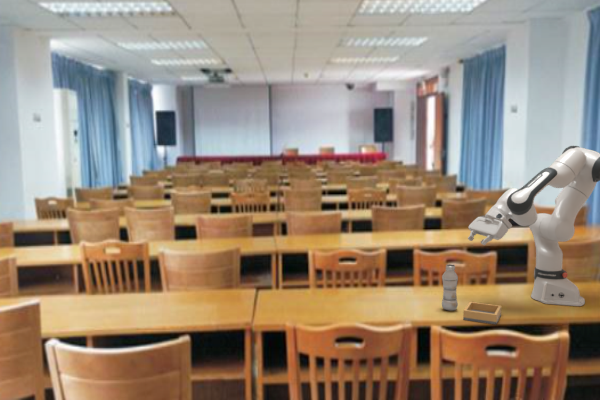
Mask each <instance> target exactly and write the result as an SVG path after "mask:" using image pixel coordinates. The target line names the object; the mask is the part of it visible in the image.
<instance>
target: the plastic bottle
mask: <svg viewBox="0 0 600 400" xmlns="http://www.w3.org/2000/svg"><path fill="white" fill-rule="evenodd" d="M455 270H456V265H455V264H451V263H447V264H445V271H444V273H443V274H442V276H441V277H442V287H443V289H442V290H443V292H442V293H443V295H442V301H441V307H442V309H444V310H445V311H449V312H450V311H451V312H452V311H456V310H457V308H458V298H457V286H458V281H459V279H458V278H459V277H458V274H457V273H456V271H455Z"/></svg>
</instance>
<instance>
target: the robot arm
mask: <svg viewBox="0 0 600 400" xmlns="http://www.w3.org/2000/svg"><path fill="white" fill-rule="evenodd" d="M599 181H600V152H598V151H595V150H592V149H588V148H584V147H580V146H578V145H569V146H568V147H566V148H564V150H563V151H562V153H561V154H560V155H559V156H558V157H557V158H556V159H555V160H554V161H553V162H552V163H551V164H550V165H549V166H548V167H544V169H542V170H541V171H539V172H538V173H537V174H535V175H534V176H533V177H532V178H531V179H530V180H529V181H528V182H526V183H525V184H524V185H523V186H522V187H520V188H516V187H512V188H508V189H507V190H505V192H504V193H502V195H501V196H500V197H499V198H498V199H497V200H496V203H495V204H494V205H492V206H491V208H489V210H487V212H486V213H485V215H481V216H477V217H476V218H475V219H474V220H473V221H472V222H471V223H470V224H469V225H468V226H467V227H468V230H469V231H470V234H469V236H468V237H467V240H468V241H471V242H473V240H475V238H474V237H475V236H476V235H479V236H483V237H485V238H484V239H481V241H480V244H481V245H483V246H486V245H487V244H488V243H489V242H491V241H492V240H497V241H499V240H501V239H503V237H505V236H506V234H507V233H508V231H509V230H510V229H511V228H512V227H513V225H512V223H511V222H510V219H511V220H513V222H515V223H516V224H517V225H518V226H520V227H529V230H530V232H531V233H532V236H533V242H534V245H535V253H536V254H535V256H536V257H535V267H534V271H533V272H534V273H533V278H534V283H533V289H532V291H531V293H530V294H531V295H530V297H531V298H532V299H533V300H536V301H538V302H540V303H542V304H547V305H557V306H569V307H571V306H572V307H573V306H574V307H581V306H584V305H585V303H586V300H585V298H584V297H583V296H581V295H580V289H579V288H578V286H577V285H576V284H575V283H574V282H572V281H571V280H570V279H568V278H567V277H568V271H567V270H566V269H563V257H564V254H563V250H562V248H560V244H559V242H568V241H570V240H571V239H572V238H573V237H574V235H575V232H576V231H575V226H574V225H575V221H576V217H577V216H578V214H579V212H580V211H581V209H582V207H583V206H584V205H585V203H586V202H587V200H588V199H589V198H590V197H591V195H592V193H593V192H594V190H595V188H596V185H597V183H598V182H599ZM547 186H550V187H551V188H555V189H561V191H560V192H559V193H558V195H557V197H555V199H554V205H555V206H554V209H553V211H552V213H551V214H550V213H545V212H543V213H542V212H541V213H540V212H539V213H538V212H537V209H536V206H535V203H534V201H535V198H536V196H537V195H539V194H540V192H542V191H543V190H544V189H545V188H546V187H547Z"/></svg>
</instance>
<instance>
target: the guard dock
mask: <svg viewBox="0 0 600 400" xmlns="http://www.w3.org/2000/svg"><path fill="white" fill-rule="evenodd" d="M462 313H463V315H462V316H463V317H462V319H463V320H464V321H470V322H476V323H477V322H478V323H485V324H491V325H497V324H498V322H499V320H500V318H501V316H502V305H498V304H489V303H482V302H474V301H469V302H468V304H466V306H465V307H464V309H463V312H462Z"/></svg>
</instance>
